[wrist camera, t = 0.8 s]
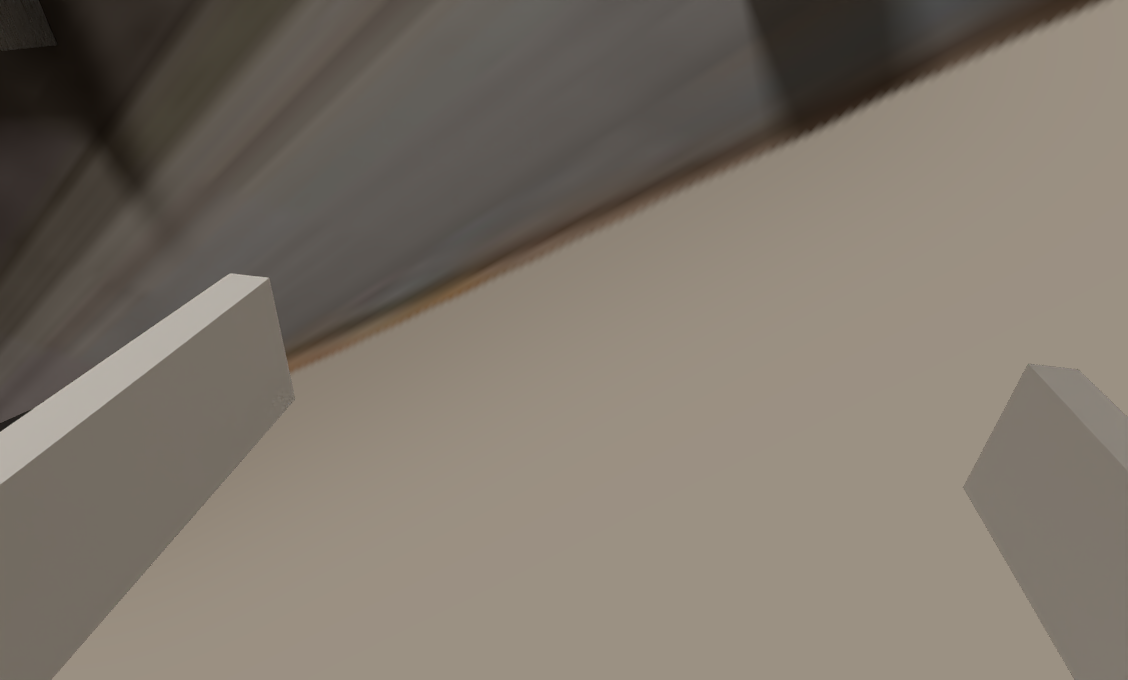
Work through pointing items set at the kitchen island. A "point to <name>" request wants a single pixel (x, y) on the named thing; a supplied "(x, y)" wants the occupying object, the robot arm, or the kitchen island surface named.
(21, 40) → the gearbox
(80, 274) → the kitchen island surface
